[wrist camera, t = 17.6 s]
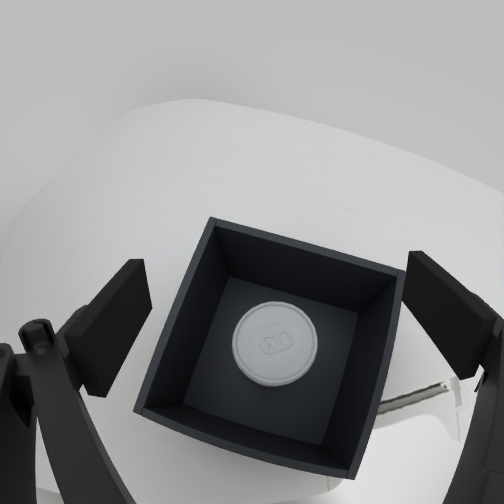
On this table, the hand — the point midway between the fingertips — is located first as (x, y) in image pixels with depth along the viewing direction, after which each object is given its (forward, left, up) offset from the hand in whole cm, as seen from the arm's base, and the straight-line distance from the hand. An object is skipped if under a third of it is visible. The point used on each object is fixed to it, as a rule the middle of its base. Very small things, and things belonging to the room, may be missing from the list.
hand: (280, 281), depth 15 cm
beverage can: (+1, -2, -15) cm, 15 cm away
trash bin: (+1, -2, -16) cm, 16 cm away
